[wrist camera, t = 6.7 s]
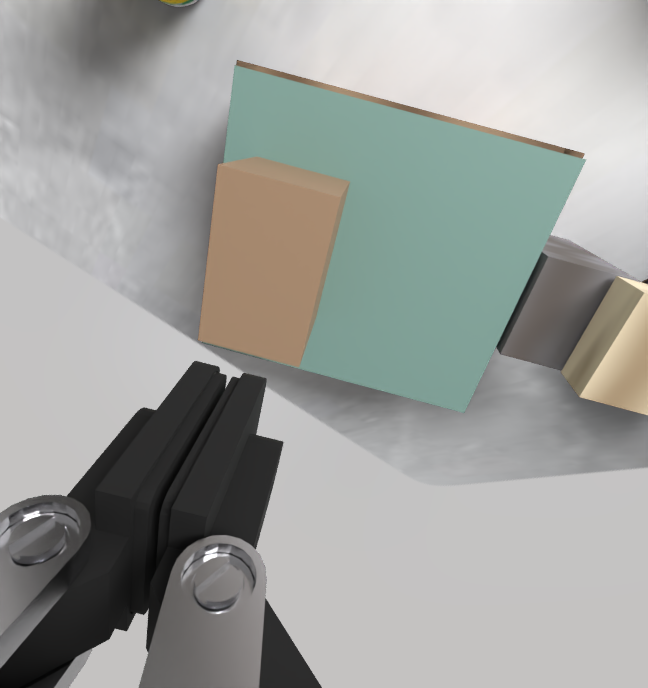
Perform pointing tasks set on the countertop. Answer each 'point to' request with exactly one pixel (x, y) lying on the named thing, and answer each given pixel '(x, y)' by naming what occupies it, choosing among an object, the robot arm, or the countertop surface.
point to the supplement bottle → (178, 2)
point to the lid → (372, 238)
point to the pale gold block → (614, 350)
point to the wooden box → (547, 276)
